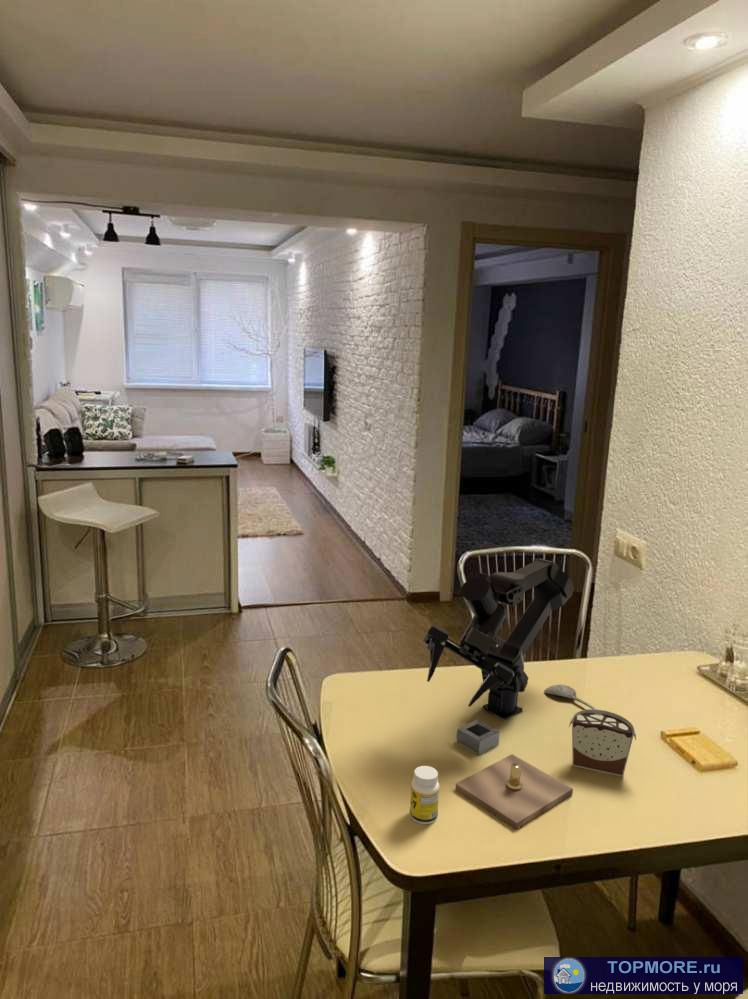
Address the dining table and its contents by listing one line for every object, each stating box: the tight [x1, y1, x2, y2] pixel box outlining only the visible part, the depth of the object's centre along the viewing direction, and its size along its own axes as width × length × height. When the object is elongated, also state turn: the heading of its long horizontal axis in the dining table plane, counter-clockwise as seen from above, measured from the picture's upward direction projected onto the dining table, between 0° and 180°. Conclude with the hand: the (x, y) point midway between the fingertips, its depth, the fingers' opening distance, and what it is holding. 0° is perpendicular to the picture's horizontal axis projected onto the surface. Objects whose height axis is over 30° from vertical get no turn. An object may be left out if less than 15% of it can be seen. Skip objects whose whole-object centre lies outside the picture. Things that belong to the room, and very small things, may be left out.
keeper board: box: [455, 753, 574, 830], centre depth 132 cm, size 16×14×1 cm
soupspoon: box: [543, 684, 599, 710], centre depth 164 cm, size 22×3×7 cm
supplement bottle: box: [409, 765, 440, 825], centre depth 123 cm, size 5×5×8 cm
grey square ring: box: [456, 719, 500, 756], centre depth 147 cm, size 6×6×3 cm
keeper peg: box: [507, 763, 522, 791], centre depth 131 cm, size 3×3×4 cm
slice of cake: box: [568, 708, 637, 777], centre depth 141 cm, size 12×6×10 cm, turn 71°
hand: (448, 693), depth 142 cm, fingers open, 9 cm apart
